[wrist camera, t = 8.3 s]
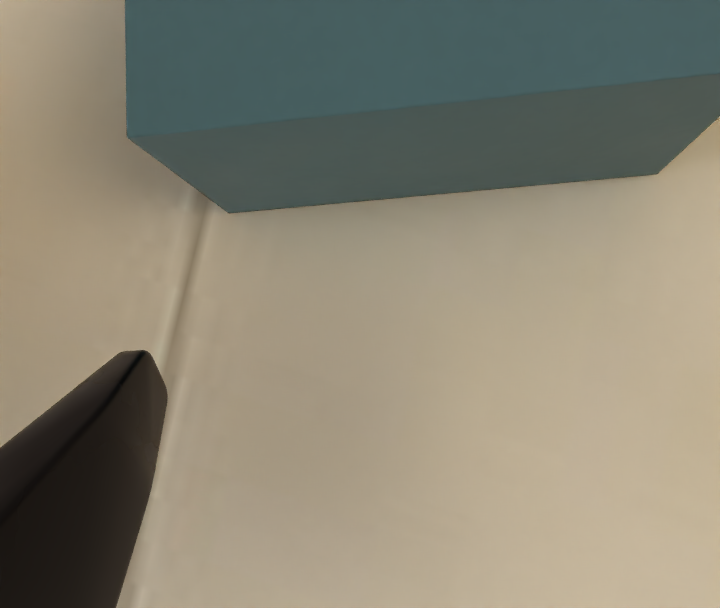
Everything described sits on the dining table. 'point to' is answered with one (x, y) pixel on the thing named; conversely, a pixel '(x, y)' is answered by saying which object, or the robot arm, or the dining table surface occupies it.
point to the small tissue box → (414, 93)
